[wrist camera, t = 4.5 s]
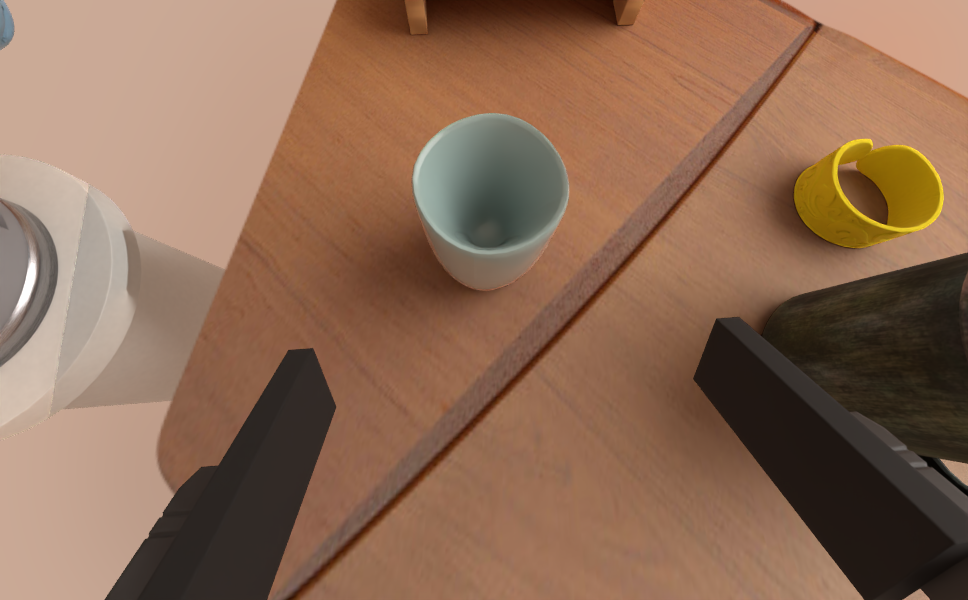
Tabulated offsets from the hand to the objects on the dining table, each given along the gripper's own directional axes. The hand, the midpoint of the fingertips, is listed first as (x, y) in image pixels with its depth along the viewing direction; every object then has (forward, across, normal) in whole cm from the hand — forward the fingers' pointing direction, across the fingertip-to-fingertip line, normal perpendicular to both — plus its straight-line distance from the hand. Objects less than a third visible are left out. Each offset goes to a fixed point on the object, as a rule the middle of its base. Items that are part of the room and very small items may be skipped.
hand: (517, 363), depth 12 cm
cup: (+16, 0, -3) cm, 16 cm away
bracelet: (+18, +29, -2) cm, 34 cm away
